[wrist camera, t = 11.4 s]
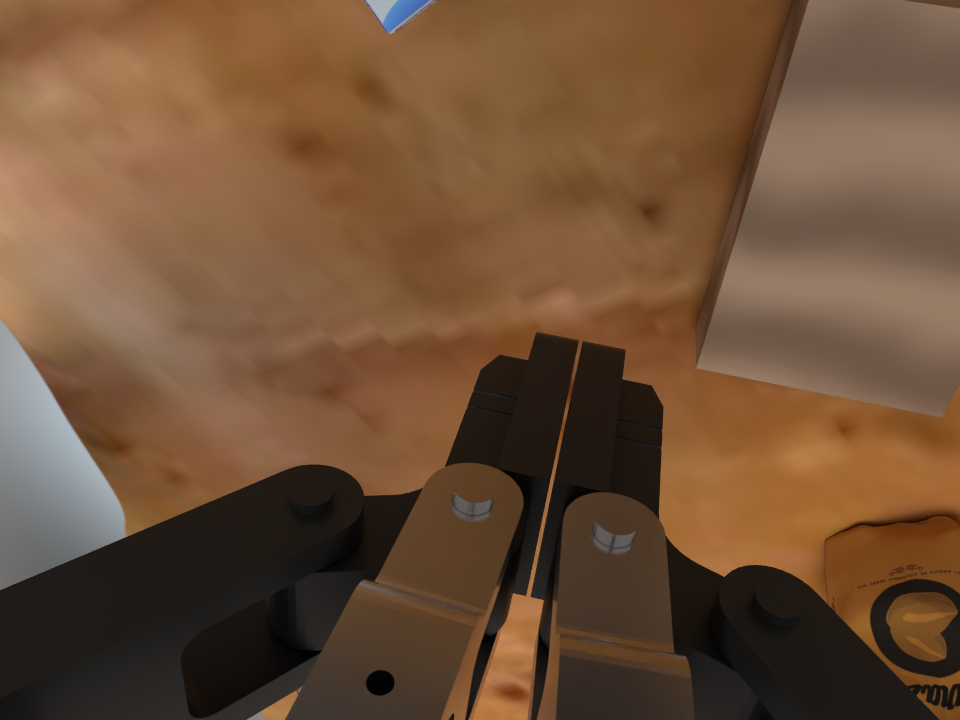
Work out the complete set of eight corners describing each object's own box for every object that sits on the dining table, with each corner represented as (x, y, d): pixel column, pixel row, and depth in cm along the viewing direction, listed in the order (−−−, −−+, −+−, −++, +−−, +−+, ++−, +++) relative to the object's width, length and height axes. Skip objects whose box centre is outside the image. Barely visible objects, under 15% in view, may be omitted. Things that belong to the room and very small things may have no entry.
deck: (801, -30, 35) (812, -14, 32) (1101, 14, 34) (1145, 35, 31) (695, 327, 46) (696, 368, 42) (923, 372, 44) (941, 417, 41)
